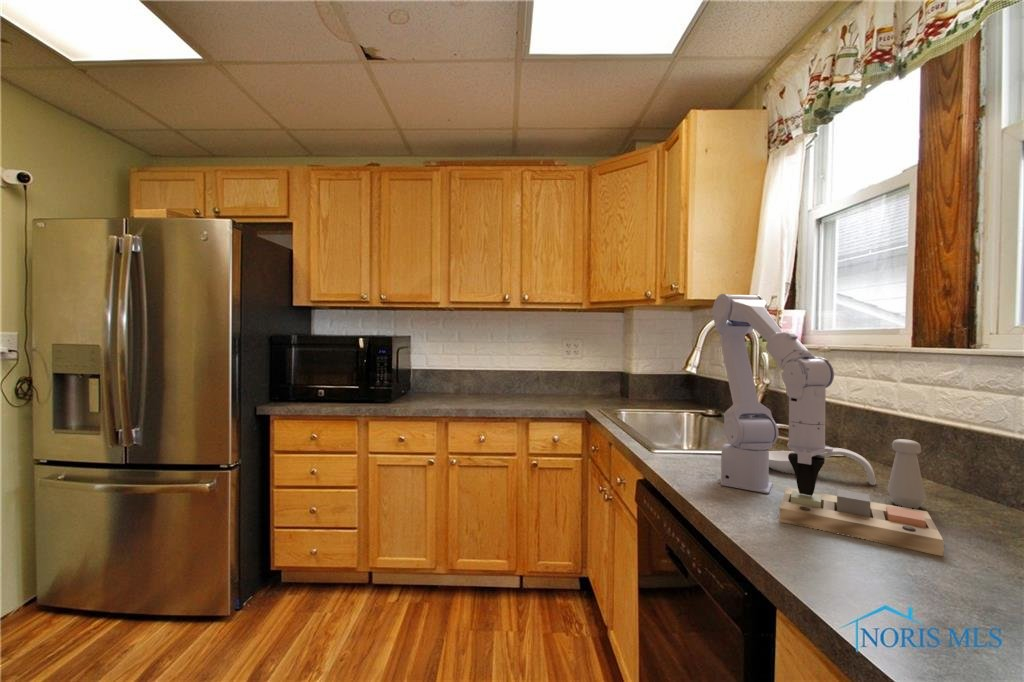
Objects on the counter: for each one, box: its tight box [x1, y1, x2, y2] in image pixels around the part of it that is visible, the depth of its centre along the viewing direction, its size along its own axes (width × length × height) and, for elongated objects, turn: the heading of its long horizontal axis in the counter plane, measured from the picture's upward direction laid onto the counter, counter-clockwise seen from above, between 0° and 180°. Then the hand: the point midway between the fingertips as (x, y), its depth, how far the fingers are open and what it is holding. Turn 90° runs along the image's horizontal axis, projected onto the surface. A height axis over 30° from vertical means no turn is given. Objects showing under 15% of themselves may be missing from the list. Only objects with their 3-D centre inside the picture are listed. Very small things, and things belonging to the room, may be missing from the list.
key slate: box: [836, 488, 871, 517], centre depth 79 cm, size 5×5×3 cm
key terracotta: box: [886, 506, 926, 528], centre depth 75 cm, size 5×5×3 cm
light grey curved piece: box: [769, 447, 877, 486], centre depth 109 cm, size 24×12×7 cm, turn 54°
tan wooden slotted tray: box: [779, 486, 944, 557], centre depth 79 cm, size 21×14×3 cm, turn 54°
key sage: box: [791, 490, 821, 508], centre depth 83 cm, size 5×5×3 cm
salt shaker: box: [886, 438, 927, 510], centre depth 88 cm, size 6×6×13 cm
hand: (806, 493), depth 83 cm, fingers closed
